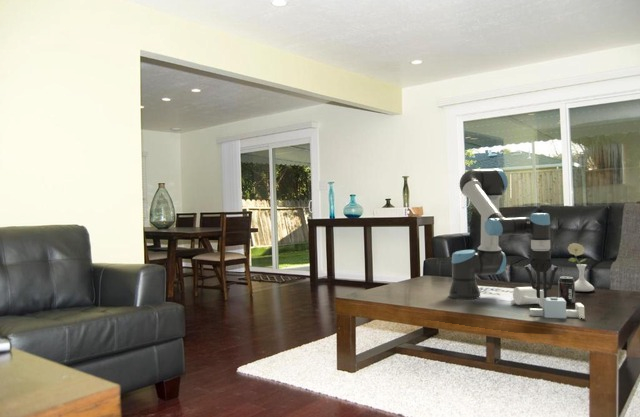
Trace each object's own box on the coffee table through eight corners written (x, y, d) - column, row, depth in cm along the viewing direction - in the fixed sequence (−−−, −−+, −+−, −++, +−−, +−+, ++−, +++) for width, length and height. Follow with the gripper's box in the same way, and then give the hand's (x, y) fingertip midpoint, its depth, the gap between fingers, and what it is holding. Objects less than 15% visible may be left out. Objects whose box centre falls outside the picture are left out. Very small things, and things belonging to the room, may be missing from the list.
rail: (531, 316, 207) (531, 304, 207) (529, 313, 214) (529, 301, 214) (584, 318, 201) (584, 306, 201) (580, 314, 208) (580, 303, 208)
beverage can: (576, 304, 228) (575, 278, 227) (559, 304, 230) (559, 278, 230) (574, 301, 234) (573, 276, 234) (558, 301, 236) (557, 275, 236)
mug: (512, 302, 236) (512, 286, 236) (533, 301, 237) (532, 285, 236) (525, 308, 224) (525, 290, 224) (546, 307, 225) (546, 289, 224)
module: (544, 317, 205) (544, 299, 205) (542, 313, 212) (542, 295, 212) (566, 318, 203) (565, 299, 203) (563, 314, 210) (562, 296, 210)
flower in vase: (598, 291, 257) (597, 243, 257) (587, 294, 251) (586, 244, 250) (573, 288, 268) (573, 241, 267) (562, 290, 261) (561, 243, 261)
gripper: (524, 250, 207) (526, 307, 207) (559, 250, 203) (560, 308, 203) (523, 248, 214) (524, 303, 214) (556, 249, 210) (557, 304, 211)
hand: (541, 305), depth 209 cm, fingers closed
